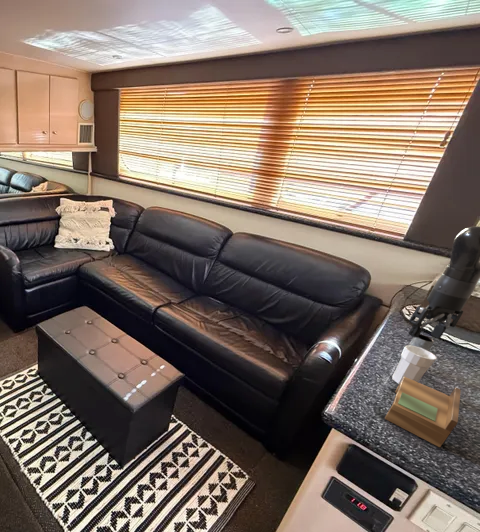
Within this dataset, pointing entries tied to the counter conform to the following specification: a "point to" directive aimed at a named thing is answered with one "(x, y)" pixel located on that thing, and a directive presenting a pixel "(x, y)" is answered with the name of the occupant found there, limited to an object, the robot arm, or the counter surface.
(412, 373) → the cup
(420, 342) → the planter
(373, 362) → the counter surface
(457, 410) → the green-lined wooden tray
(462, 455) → the counter surface
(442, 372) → the counter surface
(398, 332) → the counter surface
